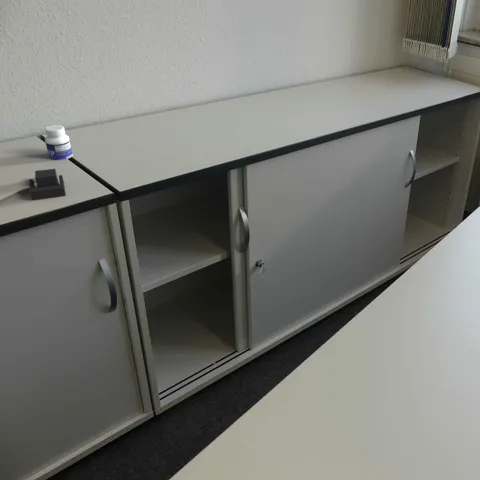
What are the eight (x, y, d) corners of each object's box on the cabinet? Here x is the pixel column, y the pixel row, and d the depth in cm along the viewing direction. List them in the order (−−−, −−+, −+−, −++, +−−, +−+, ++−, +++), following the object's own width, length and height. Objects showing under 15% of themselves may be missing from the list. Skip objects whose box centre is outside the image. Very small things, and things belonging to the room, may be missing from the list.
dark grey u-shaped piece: (31, 187, 122) (29, 178, 121) (64, 182, 125) (62, 175, 124) (31, 200, 117) (29, 192, 116) (65, 195, 119) (63, 187, 118)
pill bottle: (47, 161, 134) (38, 126, 129) (69, 156, 137) (62, 122, 133) (55, 168, 131) (46, 133, 126) (77, 163, 134) (70, 129, 130)
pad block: (39, 187, 122) (35, 170, 120) (59, 184, 124) (55, 168, 122) (39, 194, 119) (35, 178, 117) (59, 192, 121) (55, 175, 119)
